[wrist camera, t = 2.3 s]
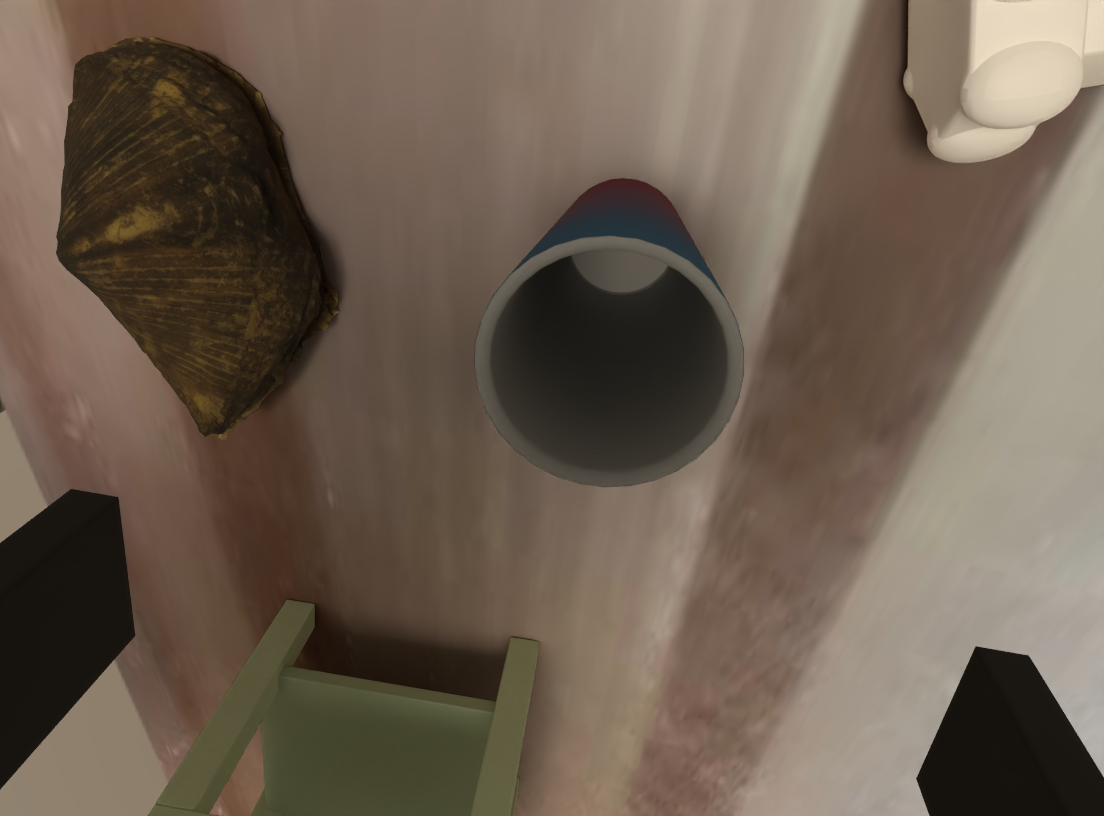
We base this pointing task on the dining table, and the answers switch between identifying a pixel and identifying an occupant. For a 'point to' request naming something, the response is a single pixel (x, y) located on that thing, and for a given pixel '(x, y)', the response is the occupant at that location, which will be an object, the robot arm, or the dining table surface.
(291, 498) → the dining table surface
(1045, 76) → the bone shaped toy
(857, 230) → the dining table surface
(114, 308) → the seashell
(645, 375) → the cup
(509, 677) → the stand
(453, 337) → the dining table surface
